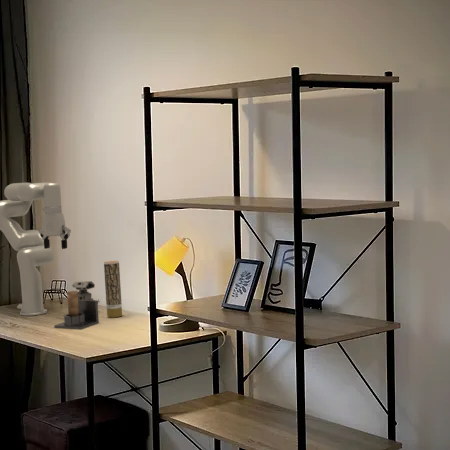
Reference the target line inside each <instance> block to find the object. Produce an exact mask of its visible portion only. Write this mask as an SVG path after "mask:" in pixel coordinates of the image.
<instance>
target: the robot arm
mask: <svg viewBox="0 0 450 450" xmlns="http://www.w3.org/2000/svg"><path fill="white" fill-rule="evenodd" d="M3 194H4V197H5V198H6V199H4V200H0V231H1V232H2V233H3V235H4V236H5V237H6V240H7V241H8V242H9V244H10V246H11V247H12V249H13V250H14V251H16V252H17V253H16V259H17V260H16V262H17V264H18V268H19V274H20V287H21V291H20V292H21V303H18V305H17V306H16V309H18V310H20V311H19V315H20V316H23V317H24V316H25V317H29V316H30V317H31V316H40V315H44V314H46V313H48V309H46V308H44V299H43V297H44V295H43V281H42V275H41V273H40V271H39V270H38V268H37V267H41V266H47V265H50V264H52V263H53V262H54V260H55V253H54V250H53V248H52V246H51V242H50V239H49V237H60V239H61V240H60V242H61V250H65V249H68V239H69V238H70V235H71V233H72V229H70V228H69V227H67V226H66V220H65V215H64V213H63V212H62V211H63V209H62V207H63V206H62V196H61V195H62V193H61V185H60V183H58V182H48V181H47V182H45V181H44V182H16V183H15V182H13V183H10V184H9V185H7V186H6V187H5V188H4V191H3ZM37 200H43V207H44V208H42V210H43V212H44V213H43V214H42V226H41V228H40V229H38V230H37V229H29V230H24V229H23V228H22V227H21V225H20V223H18V222H17V221H16V220H14V219H12V218H13V217H15V218H16V217H23V216H25V215H27V214H28V213H29V210H30V209H31V206H32V204H33V201H37Z"/></svg>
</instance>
